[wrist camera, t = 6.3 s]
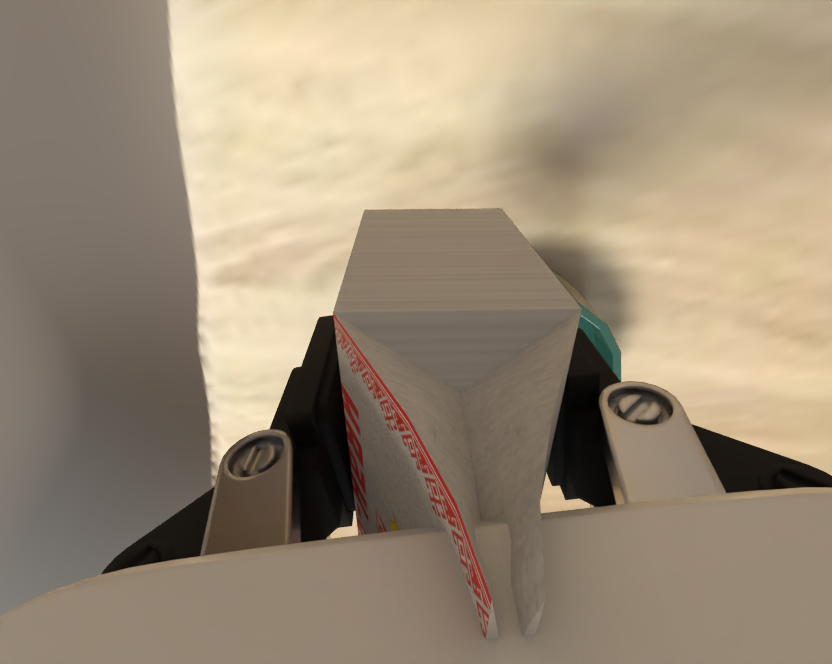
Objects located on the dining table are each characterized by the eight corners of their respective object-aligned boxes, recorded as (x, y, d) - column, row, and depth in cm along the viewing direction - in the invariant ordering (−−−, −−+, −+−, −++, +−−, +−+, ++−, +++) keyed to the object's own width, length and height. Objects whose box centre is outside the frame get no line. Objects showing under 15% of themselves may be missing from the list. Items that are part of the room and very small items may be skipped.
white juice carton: (501, 208, 11) (806, 590, 3) (482, 403, 15) (594, 848, 6) (364, 210, 11) (243, 607, 3) (376, 405, 15) (340, 859, 6)
